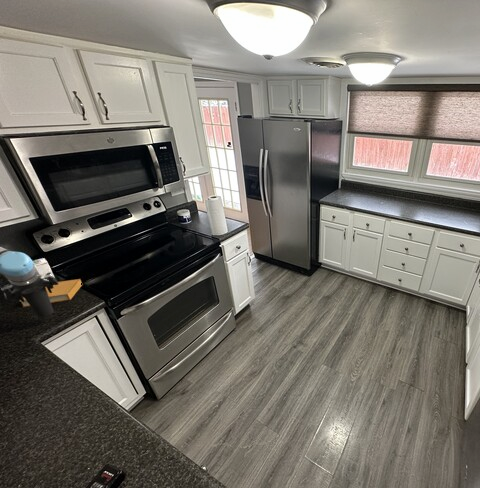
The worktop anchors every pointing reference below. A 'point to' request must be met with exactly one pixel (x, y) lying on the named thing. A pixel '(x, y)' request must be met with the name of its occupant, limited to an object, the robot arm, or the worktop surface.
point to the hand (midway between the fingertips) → (36, 294)
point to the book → (61, 291)
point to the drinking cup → (38, 300)
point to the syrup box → (42, 267)
